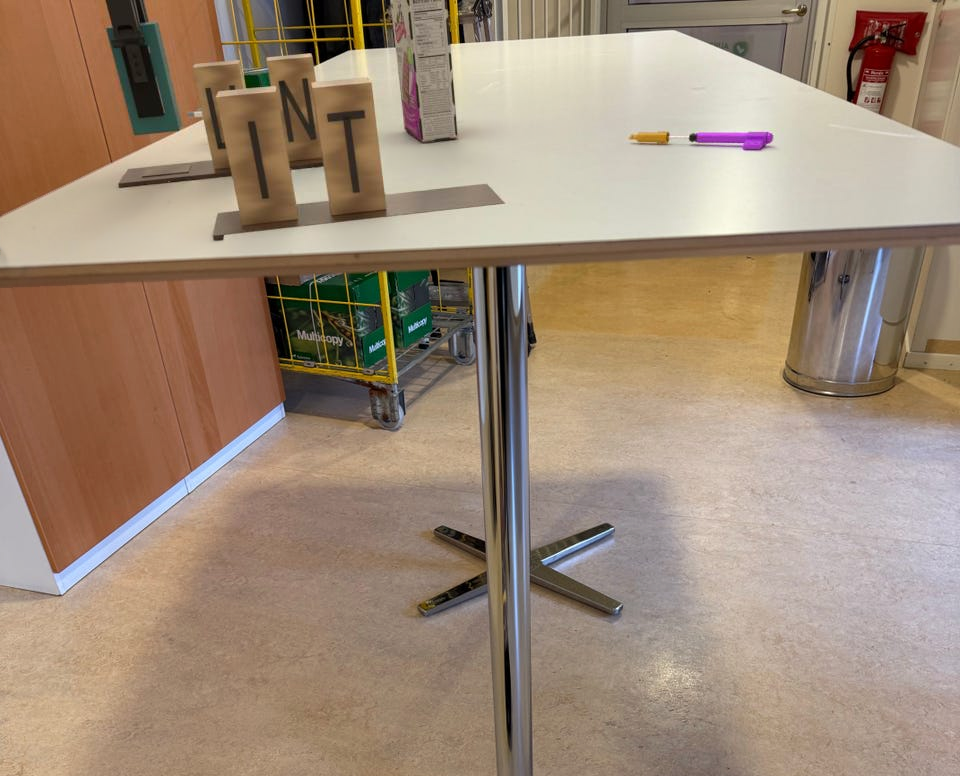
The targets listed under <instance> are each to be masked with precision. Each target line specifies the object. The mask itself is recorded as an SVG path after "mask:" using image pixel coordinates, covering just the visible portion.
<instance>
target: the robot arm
mask: <svg viewBox="0 0 960 776" xmlns="http://www.w3.org/2000/svg"><path fill="white" fill-rule="evenodd" d="M104 2H105V4H106V8H107V12H108V15H109V19H110V23H111V26H112V27H113V31H114V32H113V35H114V38H115V40H111V43H112V46H113V48H121V52H122V55H123V59H124V63H125V67H126V71H127V75H128V79H129V82H130V86H131V90H132V94H133V98H134V102H135V106H136V109H137V113H138V117H139V118H148V117H158V116H164V111H163V107H162V103H161V99H160V94H159V90H158V86H157V82H156V78H155V74H154V70H153V66H152V62H151V57H150V53H149V49H148V45H145V43H144V42H145V38H144V36H143V34H142V29H141V25H140V23H148V22H150V20H149V16H148V11H147V6H146V3H145V0H105V1H104ZM143 45H144V46H143ZM122 47H123V48H122Z"/></svg>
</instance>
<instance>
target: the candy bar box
mask: <svg viewBox="0 0 960 776" xmlns="http://www.w3.org/2000/svg"><path fill="white" fill-rule="evenodd" d="M389 3H390V4H389V5H390V13H391V20H392V29H393V37H394V48H395V54H396V55H395V56H396V63H397V65H396V66H397V72H398V73H397V74H398V81H399V90H400V91H399V93H400V99H401V100H400V101H401V110H402V118H403V126H404V131H406V132H408V133H409V134H410V135H412V136H413V137H415V138H416V139H417V140H418V141H420V142H421V143H436V142H442V141H443V142H444V141H450V140H456V139H458V138H459V136H458V135H459V134H458V123H457V110H456V108H457V107H456V98H455V85H454V70H453V60H452V46H451V35H450V33H451V32H450V22H449V21H450V20H449V11H448V0H389Z"/></svg>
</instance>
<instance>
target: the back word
mask: <svg viewBox="0 0 960 776" xmlns="http://www.w3.org/2000/svg"><path fill="white" fill-rule="evenodd" d="M266 66H267V71H268V77H269V78H268V79H269V84H270V86H276V88H277V94H278V100H279V106H280V111H281V117H282V123H283V129H284V135H285V140H286V146H287V152H288V158H289V164H290V169H291V170H297V169H306V168H307V169H308V168H316V167H323V160H322V153H321V147H320V140H319V134H318V127H317V120H316V114H315V107H314V101H313V94H312V88H311V83H312V82H317V78H316V71H315V64H314V57H313V55H312V53H300V54H288V55H279V56H277V55H276V56H267V57H266ZM192 73H193V78H194V82H195V87H196V91H197V97H198V101H199V104H200V105H199V106H200V109H201V110H202V115H203V117H202V119H203V123H204V128H205V132H206V138H207V142H208V147H209V151H210V155H211V159H209V160H201V161H192V162H191V161H189V162H183V163H171V164H163V165H162V164H161V165H153V166H142V167H134V168H127V170H126V172H125V173H124V174H123V176H122V177H121V179H120V180H119V182H118V183H117V185H118V188H126V187H127V188H128V187H135V186H136V187H137V186H145V185H144V184H146V185H154V184H153V183H155V184H162V183H161V182H165V183H169V182H168V181H174V182H181V181H182V182H183V180H184V181H193V180H202V179H201V178H203V179H210V178H220V176H222V177H229V176H230V177H232V173H231V169H230V164H229V159H228V154H227V149H226V145H225V140H224V135H223V130H222V125H221V121H220V116H219V111H218V106H217V101H216V95H217V93H218V91H228V90H238V89H245V88H246V86H245V81H244V75H243V70H242V64H241V60H240V59H234V60H225V61H215V62H214V61H213V62H203V63H194V65H193V66H192ZM192 179H193V180H192Z"/></svg>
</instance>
